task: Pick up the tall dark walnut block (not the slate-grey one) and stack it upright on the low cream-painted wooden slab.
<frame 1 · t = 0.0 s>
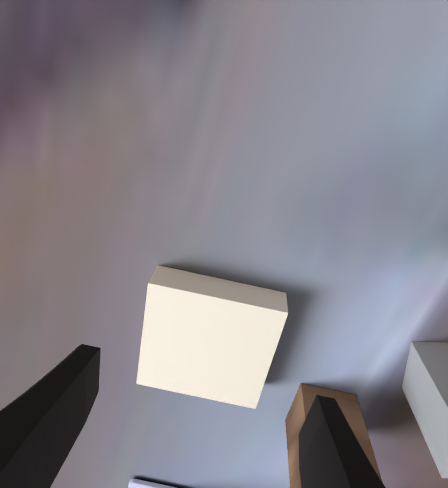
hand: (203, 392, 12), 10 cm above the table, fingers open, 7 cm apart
grey rectangular block: (438, 365, 23), on the table
cream slab: (211, 324, 24), on the table
walnut block: (319, 407, 26), on the table
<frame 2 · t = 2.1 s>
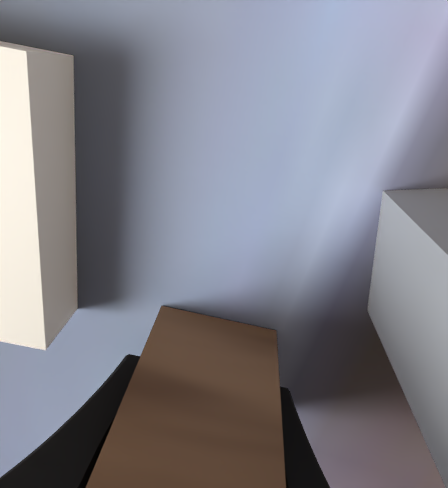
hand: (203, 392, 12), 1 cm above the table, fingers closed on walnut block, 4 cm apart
grey rectangular block: (445, 253, 10), on the table
walnut block: (209, 360, 13), on the table, touching gripper
when the fingers open (5 cm above the table, at t = 4.5 s): walnut block drops 1 cm, point 2 cm above the table.
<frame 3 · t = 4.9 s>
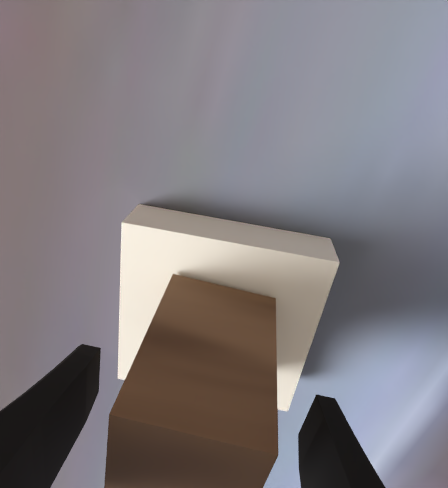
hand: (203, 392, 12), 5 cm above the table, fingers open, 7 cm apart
cream slab: (221, 293, 17), on the table
walnut block: (214, 325, 14), point 2 cm above the table
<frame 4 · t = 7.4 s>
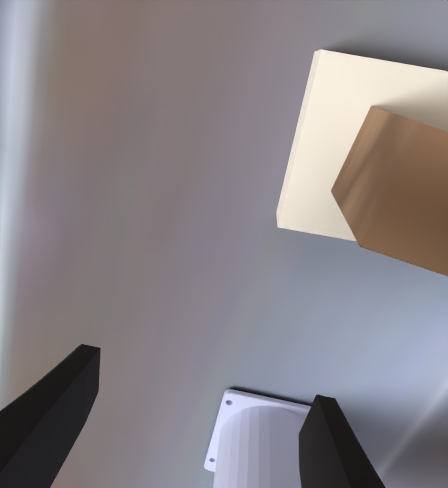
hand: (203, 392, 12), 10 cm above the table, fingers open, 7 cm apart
cream slab: (368, 152, 18), on the table, touching walnut block
walnut block: (390, 165, 16), point 2 cm above the table, touching cream slab
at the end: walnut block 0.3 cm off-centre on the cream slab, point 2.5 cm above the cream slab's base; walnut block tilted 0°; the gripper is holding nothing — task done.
